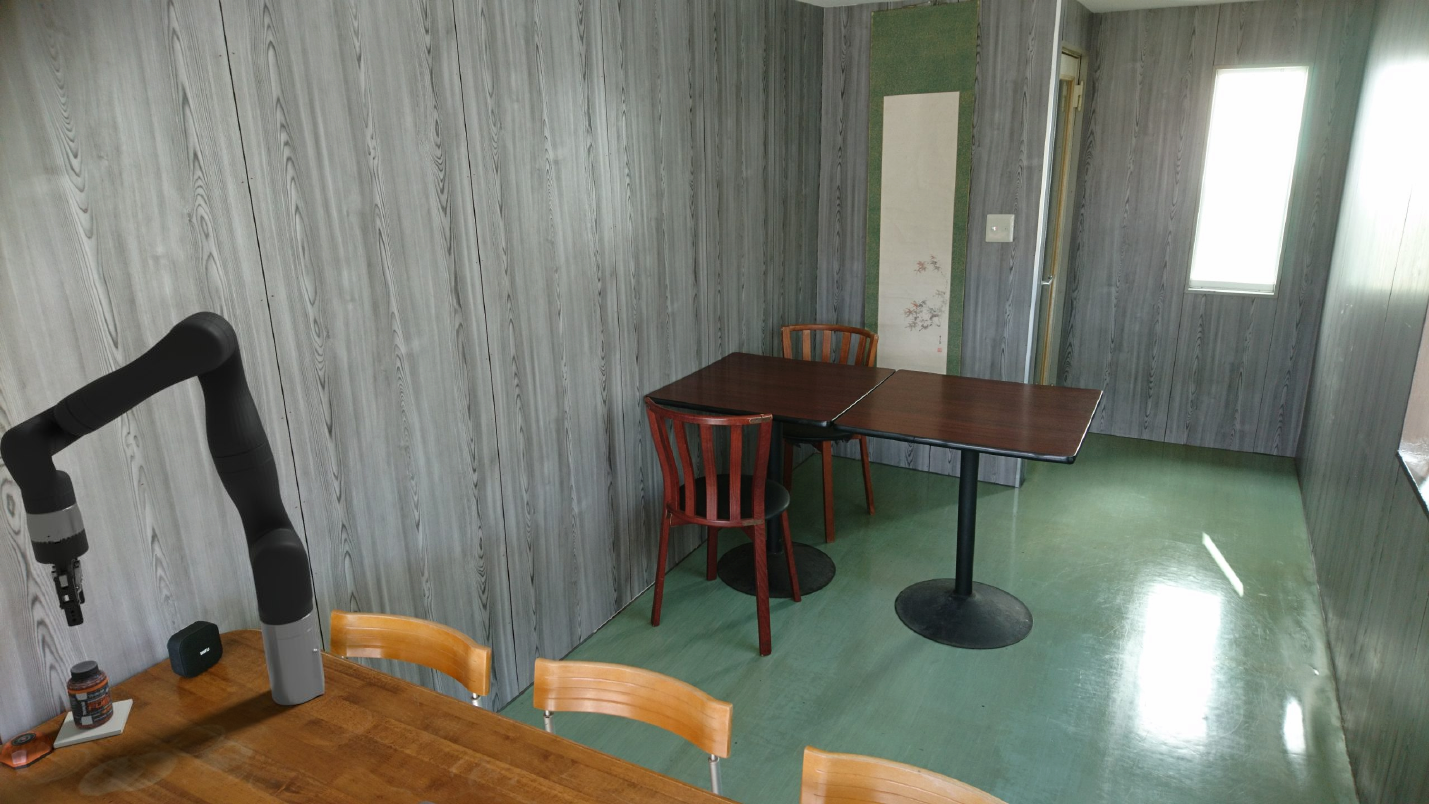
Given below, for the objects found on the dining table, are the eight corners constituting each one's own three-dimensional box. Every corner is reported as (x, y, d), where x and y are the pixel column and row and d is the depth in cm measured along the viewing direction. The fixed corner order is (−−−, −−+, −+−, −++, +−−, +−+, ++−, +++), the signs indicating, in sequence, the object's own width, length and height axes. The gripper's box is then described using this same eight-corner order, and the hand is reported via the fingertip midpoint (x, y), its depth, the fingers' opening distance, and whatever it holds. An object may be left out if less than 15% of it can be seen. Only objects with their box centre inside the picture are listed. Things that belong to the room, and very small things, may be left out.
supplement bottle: (95, 732, 152) (83, 677, 149) (66, 728, 153) (53, 674, 150) (122, 711, 158) (111, 658, 155) (94, 708, 159) (82, 655, 156)
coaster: (132, 702, 162) (131, 698, 162) (121, 733, 153) (120, 729, 153) (69, 715, 158) (68, 712, 158) (54, 748, 149) (53, 744, 149)
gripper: (33, 521, 150) (53, 603, 154) (26, 551, 138) (48, 638, 143) (85, 512, 154) (103, 592, 158) (82, 540, 142) (102, 625, 147)
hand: (77, 614), depth 151 cm, fingers open, 8 cm apart
